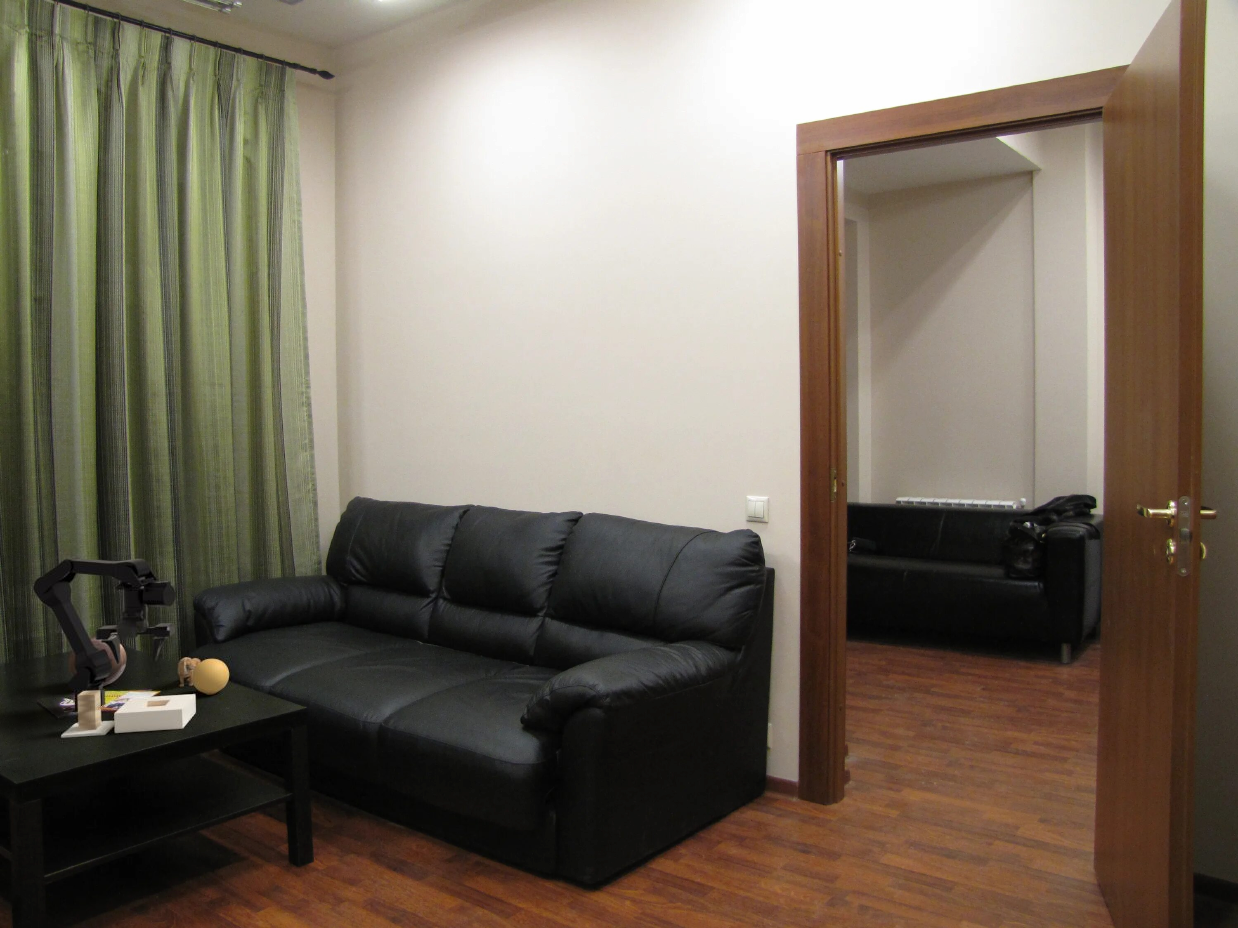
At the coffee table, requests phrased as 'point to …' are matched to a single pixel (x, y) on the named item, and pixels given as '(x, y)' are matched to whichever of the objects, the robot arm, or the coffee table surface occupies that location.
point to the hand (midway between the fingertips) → (136, 662)
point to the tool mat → (100, 730)
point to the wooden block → (89, 710)
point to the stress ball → (210, 676)
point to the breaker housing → (155, 713)
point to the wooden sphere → (116, 668)
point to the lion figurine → (187, 669)
